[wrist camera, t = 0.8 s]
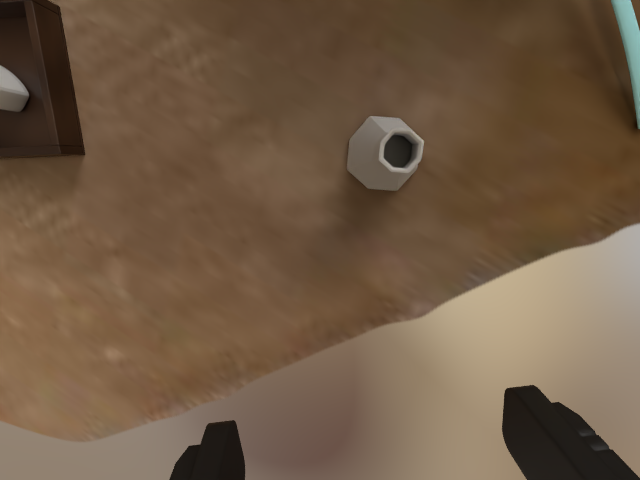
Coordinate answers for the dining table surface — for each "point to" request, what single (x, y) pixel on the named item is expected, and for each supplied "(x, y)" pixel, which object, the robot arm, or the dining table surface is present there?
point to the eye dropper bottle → (11, 91)
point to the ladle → (630, 46)
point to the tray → (38, 82)
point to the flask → (384, 153)
